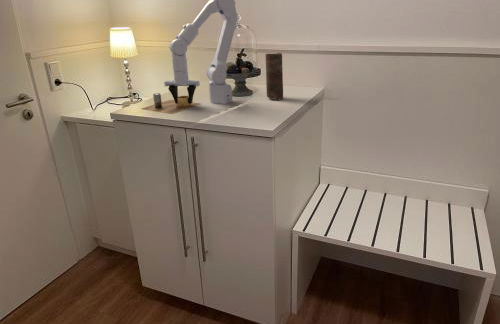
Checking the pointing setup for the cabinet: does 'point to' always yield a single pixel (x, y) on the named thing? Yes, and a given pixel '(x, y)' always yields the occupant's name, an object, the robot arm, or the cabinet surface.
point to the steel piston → (157, 100)
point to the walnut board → (169, 107)
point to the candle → (274, 76)
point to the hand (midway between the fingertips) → (183, 103)
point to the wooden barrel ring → (183, 101)
